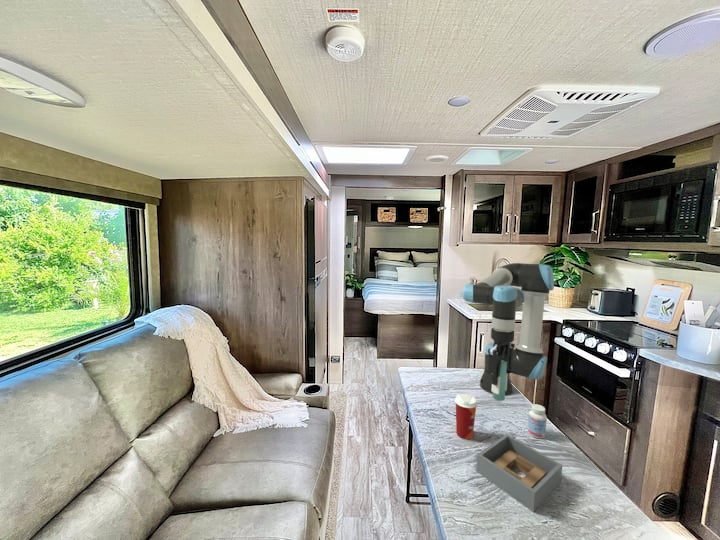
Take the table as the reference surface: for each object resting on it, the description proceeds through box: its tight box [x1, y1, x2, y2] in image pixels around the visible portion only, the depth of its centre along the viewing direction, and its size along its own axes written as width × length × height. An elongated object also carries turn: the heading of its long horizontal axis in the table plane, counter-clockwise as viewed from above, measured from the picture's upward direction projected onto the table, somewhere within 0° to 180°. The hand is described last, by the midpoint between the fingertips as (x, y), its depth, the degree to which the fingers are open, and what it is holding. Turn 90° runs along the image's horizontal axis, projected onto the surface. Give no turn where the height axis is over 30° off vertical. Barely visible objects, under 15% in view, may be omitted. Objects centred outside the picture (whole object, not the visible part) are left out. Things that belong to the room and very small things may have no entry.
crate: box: [476, 433, 563, 513], centre depth 96 cm, size 18×18×6 cm
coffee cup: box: [454, 393, 478, 441], centre depth 116 cm, size 8×8×15 cm
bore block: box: [493, 450, 547, 489], centre depth 96 cm, size 12×12×3 cm
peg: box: [492, 360, 507, 402], centre depth 109 cm, size 4×4×14 cm
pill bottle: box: [527, 403, 548, 440], centre depth 117 cm, size 6×6×11 cm
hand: (499, 390), depth 109 cm, fingers closed on peg, 4 cm apart
